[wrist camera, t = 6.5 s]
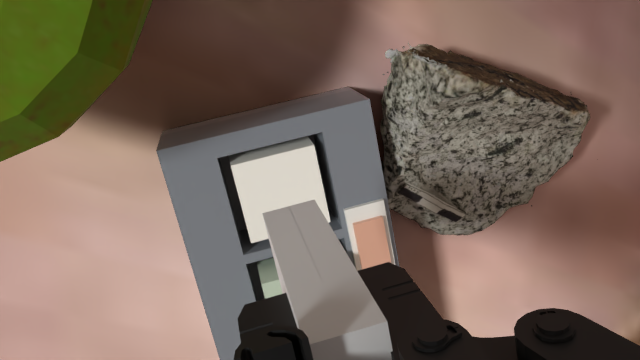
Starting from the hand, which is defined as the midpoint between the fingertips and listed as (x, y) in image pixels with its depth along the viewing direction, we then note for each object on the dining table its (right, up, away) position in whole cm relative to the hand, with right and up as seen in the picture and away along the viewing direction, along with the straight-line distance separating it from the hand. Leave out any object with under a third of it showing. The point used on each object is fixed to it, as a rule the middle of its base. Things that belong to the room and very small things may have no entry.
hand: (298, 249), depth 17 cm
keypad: (-1, -2, +10) cm, 11 cm away
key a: (-1, +2, +8) cm, 8 cm away
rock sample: (+7, +4, +11) cm, 13 cm away
